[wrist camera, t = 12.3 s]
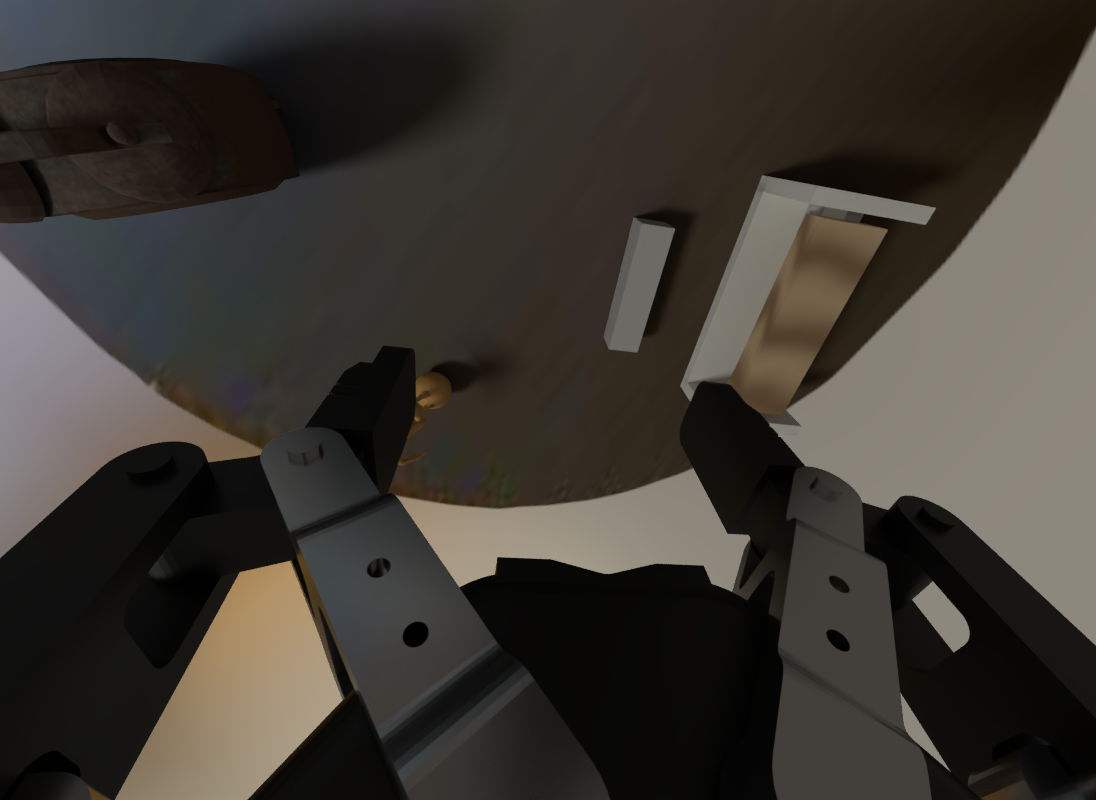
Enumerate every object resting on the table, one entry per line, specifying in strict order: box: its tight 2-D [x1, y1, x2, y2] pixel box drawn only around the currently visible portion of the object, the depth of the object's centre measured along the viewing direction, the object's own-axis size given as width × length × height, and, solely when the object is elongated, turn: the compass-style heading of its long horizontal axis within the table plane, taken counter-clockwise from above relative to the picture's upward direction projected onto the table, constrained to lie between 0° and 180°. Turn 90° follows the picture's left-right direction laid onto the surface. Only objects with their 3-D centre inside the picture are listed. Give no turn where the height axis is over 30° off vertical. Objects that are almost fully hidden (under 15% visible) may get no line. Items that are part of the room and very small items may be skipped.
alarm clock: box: [0, 58, 300, 223], centre depth 24 cm, size 15×7×20 cm, turn 97°
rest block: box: [604, 217, 675, 352], centre depth 40 cm, size 12×3×3 cm, turn 171°
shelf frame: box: [680, 175, 936, 435], centre depth 39 cm, size 22×10×8 cm, turn 171°
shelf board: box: [728, 213, 888, 415], centre depth 38 cm, size 18×6×2 cm, turn 171°
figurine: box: [398, 372, 452, 465], centre depth 41 cm, size 8×6×12 cm
